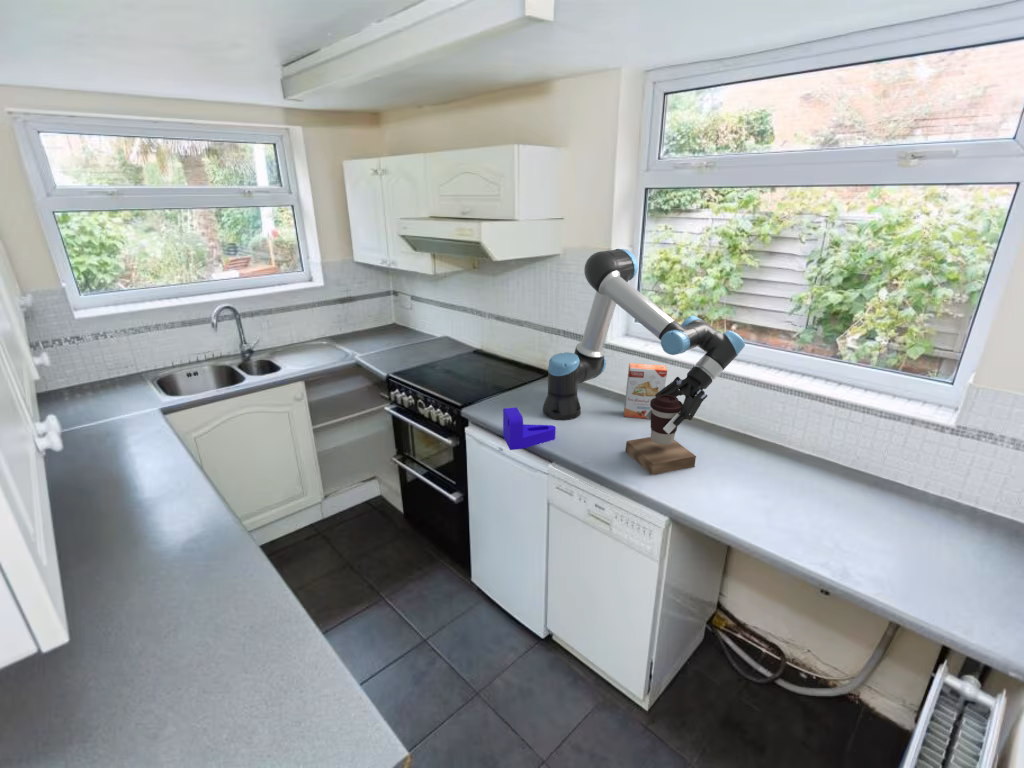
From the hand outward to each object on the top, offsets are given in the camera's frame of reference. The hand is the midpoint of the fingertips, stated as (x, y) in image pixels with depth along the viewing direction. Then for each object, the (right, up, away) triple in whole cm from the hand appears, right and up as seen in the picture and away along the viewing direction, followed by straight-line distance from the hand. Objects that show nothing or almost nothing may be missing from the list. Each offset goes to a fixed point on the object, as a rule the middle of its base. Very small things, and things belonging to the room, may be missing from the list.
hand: (656, 424), depth 162 cm
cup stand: (+3, -12, +6) cm, 14 cm away
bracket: (-40, -7, +18) cm, 44 cm away
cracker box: (+5, 0, +37) cm, 38 cm away
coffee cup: (+3, -6, +3) cm, 7 cm away
